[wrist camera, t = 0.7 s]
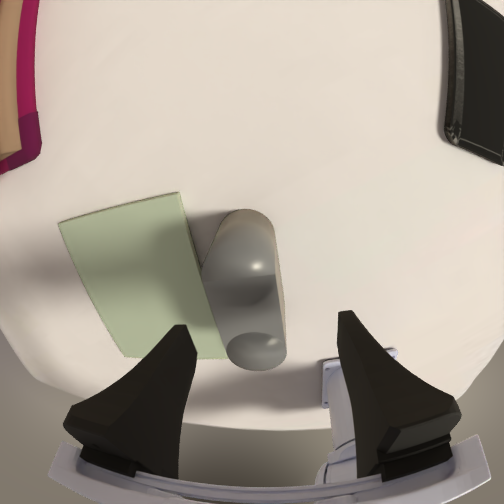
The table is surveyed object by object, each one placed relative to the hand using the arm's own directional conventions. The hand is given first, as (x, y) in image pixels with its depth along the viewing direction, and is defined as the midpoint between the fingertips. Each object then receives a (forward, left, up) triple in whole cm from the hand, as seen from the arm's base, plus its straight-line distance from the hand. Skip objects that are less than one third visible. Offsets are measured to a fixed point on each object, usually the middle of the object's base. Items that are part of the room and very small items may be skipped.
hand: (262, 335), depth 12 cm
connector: (-3, +1, -9) cm, 9 cm away
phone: (+13, -20, -9) cm, 26 cm away
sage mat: (-3, +11, -9) cm, 14 cm away
